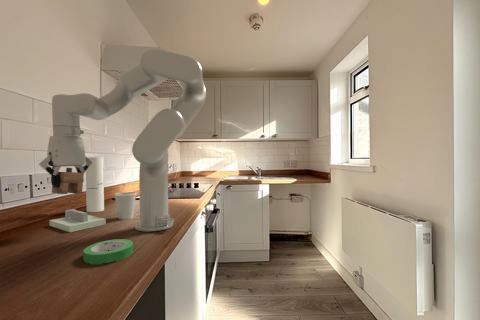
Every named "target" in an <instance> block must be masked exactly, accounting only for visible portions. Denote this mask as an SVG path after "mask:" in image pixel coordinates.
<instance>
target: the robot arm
mask: <svg viewBox="0 0 480 320" xmlns="http://www.w3.org/2000/svg"><path fill="white" fill-rule="evenodd" d="M139 63H140V64H139V65H137V66H135V67H133V68H131V69H128V70H127V71H125V72H123V73H121V74H120V75H119V76H118V79H117V82H116V85H115V87H113V89H112V90H111V91H110V92H108V93H107V94H105V95H103V96H101V97H97V96H95V95H94V94H90V93H77V94H62V93H60V94H54V95H52V97H51V98H52V99H51V107H52V108H51V110H52V135H51V136H49V137H48V138H49V139H48V142H47V153H46V155H47V156H46V157H45V158H44V159H43V160H42V161H40V162H39V163H38V165H39V166H40V167H41V168H42V169H43V170H44V171H46V172H47V173H48V174H49V175H50V178H51V179H50V180H51V183H50V184H51V185H53V187H56V188H58V187H60V176H59V175H58V172H60V169H61V167H74V168H75V170H76V173H84V174H86V170H87V169H88V167H89V166H90V165H91V164H92V161H90V160H89V159H88V158H89V157H88V156H86V150H85V144H84V139H83V137H82V136H81V135H84V134H85V132H84V129H83V130H81V128H80V125H81V123H80V119H81V118H80V116H82V117H85V118H89V119H92V120H95V121H102V120H105V119H107V118H110V117H112V116H114V115H115V114H117V113H119V112H120V111H122V110H123V109H124V108H126V107H127V106H129V105H130V103H131V102H132V101H134V100H135V99H136V98H137V97H138V96H140V95H142V94H143V95H144V94H145V93H146V92H148V91H150V90H152V89H153V88H155V87H158V86H159V85H160V84H163V83H164V82H166V81H167V80H168V79H170V80H174V81H178V82H179V85H180V86H181V88H182V93H181V95H180V96H179V97H178V98H177V99H176V101H175V102H174V103H173V104H172V106H171V107H170V108H164V109H162V110H160V111H159V112H157V113H156V114H155V115H154V116H153V117H152V118H151V120H150V121H149V122H148V123H147V124H146V126H145V127H144V129H143V130H142V131H141V132H140V134H138V136H137V137H136V138H135V141H134V142H133V145H132V147H131V148H132V149H131V150H132V151H131V152H132V155H133V158H134V159H135V160H136V161H137V162H139V171H138V172H139V175H138V176H139V177H138V179H139V180H138V181H139V182H138V183H139V184H138V185H139V186H138V187H139V191H138V193H139V196H138V197H139V222H137V223H136V224H135V225H134V228H135V230H136V231H139V232H158V231H163V230H168V229H170V228H172V227H173V226H174V222H175V219H174V218H171V214H170V213H169V179H168V178H169V172H168V171H169V170H168V169H169V168H168V167H169V150H168V149H169V148H170V147H171V146H172V144H173V143H174V142H175V140H177V139H179V138H181V136H183V134H184V133H185V131H186V129H187V128H188V127H189V125H190V124H191V123H192V122H193V120H194V119H195V118H196V117H197V115H198V113H199V112H200V111H201V110H202V108H203V106H204V104H205V102H206V99H207V90H206V85H205V83H204V79H203V68H202V66H201V63H199V61H198V60H196V58H193V57H190V56H187V55H183V54H179V53H175V52H172V51H167V50H164V49H163V50H162V49H158V48H151V49H147V50H145V51H144V52H143V53H142V54H141V56H140V60H139ZM84 182H85V181H84V177H83V183H84Z"/></svg>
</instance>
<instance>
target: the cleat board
mask: <svg viewBox="0 0 480 320" xmlns="http://www.w3.org/2000/svg"><path fill="white" fill-rule="evenodd" d="M88 213H89V212H87V211H85V212H84V211H82V210H77V209H76V208H72V209H66V210H64V214H65V215H64V217H61V218H55V219H49V226H50V227H53V228H56V229H59V230H62V231H64V232H68V233H73V232H76V231H81V230H86V229H91V228H96V227H99V226H104V225H106V224H107V223H106V222H107V221H106V218H103V217H99V216H95V215H90V214H88Z"/></svg>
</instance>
